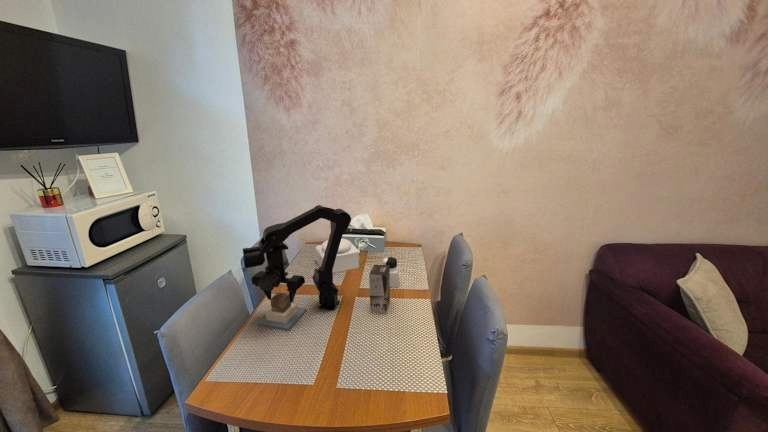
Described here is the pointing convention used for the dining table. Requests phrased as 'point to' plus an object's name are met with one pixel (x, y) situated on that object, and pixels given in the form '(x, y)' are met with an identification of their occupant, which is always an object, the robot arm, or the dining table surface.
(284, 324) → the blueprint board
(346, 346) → the dining table surface
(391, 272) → the medicine bottle
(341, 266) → the white square box
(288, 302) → the walnut block
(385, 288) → the coffee box
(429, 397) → the dining table surface
